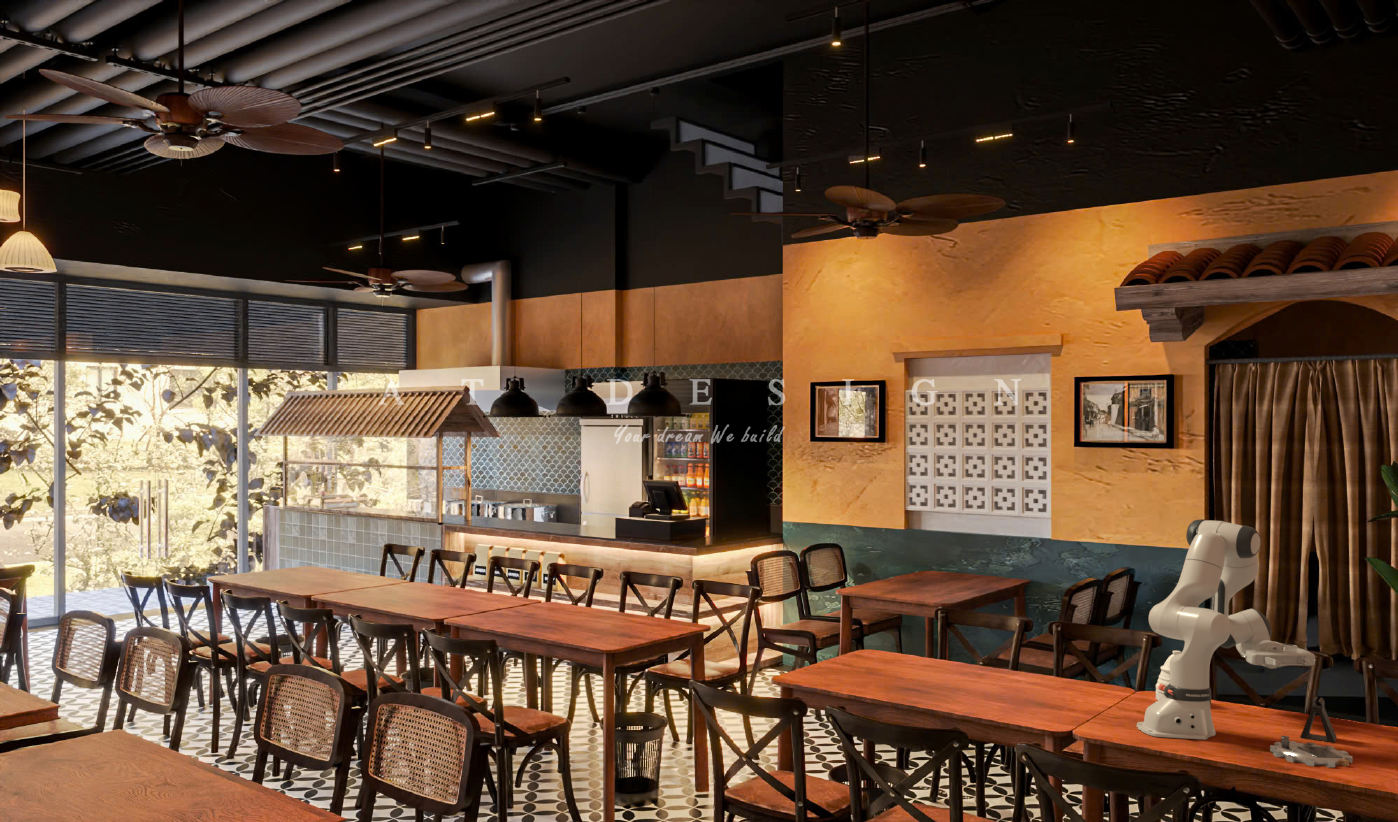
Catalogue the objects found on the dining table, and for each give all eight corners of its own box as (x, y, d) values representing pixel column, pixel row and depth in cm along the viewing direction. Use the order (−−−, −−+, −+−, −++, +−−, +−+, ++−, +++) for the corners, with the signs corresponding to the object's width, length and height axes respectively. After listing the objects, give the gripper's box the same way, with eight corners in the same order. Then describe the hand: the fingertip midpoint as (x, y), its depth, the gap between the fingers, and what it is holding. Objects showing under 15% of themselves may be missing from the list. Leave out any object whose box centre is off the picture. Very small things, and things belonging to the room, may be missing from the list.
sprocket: (1294, 767, 282) (1294, 750, 282) (1256, 745, 302) (1256, 730, 302) (1368, 768, 281) (1368, 751, 282) (1325, 746, 302) (1325, 731, 302)
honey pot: (1200, 707, 348) (1200, 654, 348) (1160, 705, 350) (1160, 652, 351) (1190, 698, 360) (1189, 647, 361) (1151, 696, 363) (1151, 645, 363)
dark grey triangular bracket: (1300, 738, 311) (1299, 698, 311) (1303, 733, 316) (1302, 694, 316) (1334, 743, 305) (1333, 703, 306) (1337, 738, 310) (1336, 699, 310)
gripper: (1237, 644, 339) (1259, 652, 325) (1300, 644, 338) (1324, 653, 325) (1238, 663, 339) (1259, 672, 325) (1300, 663, 338) (1324, 673, 324)
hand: (1292, 663), depth 325 cm, fingers open, 8 cm apart
